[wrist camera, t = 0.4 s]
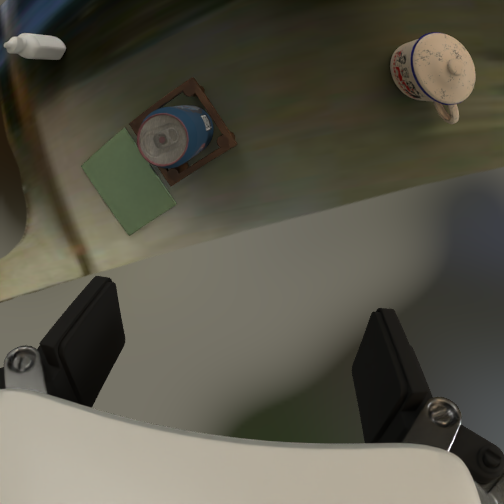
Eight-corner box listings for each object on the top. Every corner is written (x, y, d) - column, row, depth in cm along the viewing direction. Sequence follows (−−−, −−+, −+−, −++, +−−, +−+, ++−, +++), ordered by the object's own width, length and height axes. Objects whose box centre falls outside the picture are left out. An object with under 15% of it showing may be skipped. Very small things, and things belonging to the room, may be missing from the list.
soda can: (177, 160, 44) (145, 181, 33) (159, 116, 41) (122, 123, 31) (222, 143, 43) (203, 158, 32) (205, 97, 40) (179, 97, 29)
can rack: (143, 120, 42) (128, 123, 37) (201, 79, 39) (192, 77, 34) (181, 177, 45) (170, 186, 41) (241, 140, 42) (236, 144, 38)
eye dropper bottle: (60, 27, 35) (12, 20, 24) (68, 53, 37) (19, 50, 26) (41, 42, 36) (-8, 39, 25) (49, 68, 38) (-1, 69, 27)
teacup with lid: (377, 50, 35) (408, 37, 25) (428, 35, 33) (469, 22, 22) (410, 129, 39) (448, 140, 29) (458, 111, 37) (503, 119, 27)
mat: (82, 165, 45) (80, 166, 45) (125, 127, 42) (124, 127, 42) (130, 234, 50) (129, 235, 50) (176, 203, 47) (175, 204, 47)
